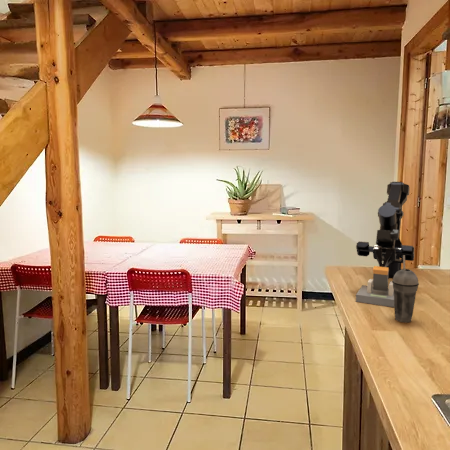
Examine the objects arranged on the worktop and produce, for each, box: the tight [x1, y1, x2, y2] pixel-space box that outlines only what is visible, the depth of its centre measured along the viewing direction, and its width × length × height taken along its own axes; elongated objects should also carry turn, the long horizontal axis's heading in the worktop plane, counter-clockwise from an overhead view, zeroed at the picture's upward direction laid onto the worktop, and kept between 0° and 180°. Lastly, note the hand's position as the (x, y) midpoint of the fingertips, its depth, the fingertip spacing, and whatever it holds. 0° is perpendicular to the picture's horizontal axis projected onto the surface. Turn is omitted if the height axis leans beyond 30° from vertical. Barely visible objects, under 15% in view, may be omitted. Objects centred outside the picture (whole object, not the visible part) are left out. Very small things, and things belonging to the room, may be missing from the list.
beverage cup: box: [392, 255, 420, 324], centre depth 121 cm, size 7×7×20 cm
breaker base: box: [355, 278, 394, 308], centre depth 140 cm, size 12×14×6 cm
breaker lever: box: [372, 265, 389, 292], centre depth 138 cm, size 2×5×9 cm, turn 62°
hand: (381, 271), depth 138 cm, fingers closed, pressing on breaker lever
